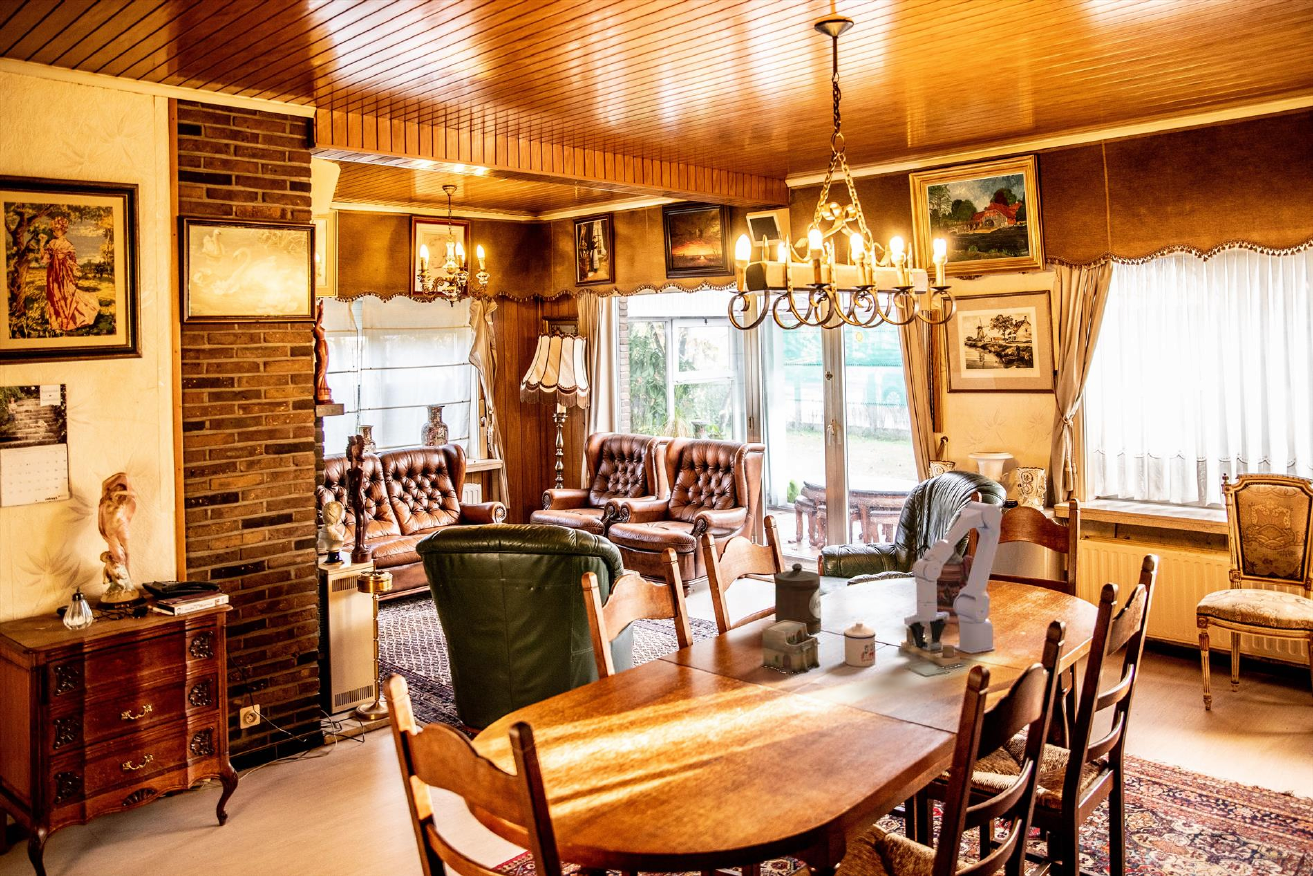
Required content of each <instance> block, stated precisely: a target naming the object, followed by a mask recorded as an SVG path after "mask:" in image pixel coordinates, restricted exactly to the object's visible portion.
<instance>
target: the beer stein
mask: <svg viewBox="0 0 1313 876" xmlns="http://www.w3.org/2000/svg"><path fill="white" fill-rule="evenodd" d="M953 548H954V553H953V554H952V555H951V557H950V558H949V559H948V560H947V561H946V563H945V564H944V565H943V568H942V569H941V575H940V577H939V578H938V579H937V612H948V613H949V620H946V619H944V620H943V621H945V622H946V624H959V618H958V614H956V613H955V611H954V608H953V604H954V601H955V599H956V598H957V596H958V595H959V591H960V590H961V589H962V588H964V587H965V586H966V585H967V583H968V579H969V575H970V569H971V566H970V562H971V561H973V559H974V556H971V555H969V554H966V555H964V556H963V557H961V556H960V555H959V554H958V552H957V548H956V545H955V546H954V547H953ZM972 598H974V599H976V598H975V597H972Z"/></svg>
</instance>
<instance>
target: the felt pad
mask: <svg viewBox="0 0 1313 876" xmlns="http://www.w3.org/2000/svg"><path fill="white" fill-rule="evenodd" d="M905 667H906V668H905ZM903 668H905V669H907V670H909V669H910V670H909V671H911V670H912V671H911V672H914V673H916V672H917V673H916V674H919V675H920V674H921V675H920V676H923V677H925V676H927V677H932V676H931V675H933V676H936V675H935V674H939V675H943V674H942V673H944V674H947V673H946V672H949V673H950V670H949V669H944V668H941V667H939V666H937V665H934V664H932V663H930V662H927V661H924V662H918V663H912V664H906V665H903Z"/></svg>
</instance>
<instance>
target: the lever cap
mask: <svg viewBox="0 0 1313 876" xmlns="http://www.w3.org/2000/svg"><path fill="white" fill-rule="evenodd" d="M942 644H943V643H942V641H941V640H940V641H938V640H935V639H933V638H932V637H929V636H927V635H925V634H923V648H920V649H922V650H925V651H927V652H930V651H936V650H942V646H943V645H942ZM913 646H915V647H916V643H915V639H914V637H913Z"/></svg>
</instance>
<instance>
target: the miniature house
mask: <svg viewBox="0 0 1313 876" xmlns="http://www.w3.org/2000/svg"><path fill="white" fill-rule="evenodd" d="M818 639H819V638H818V637H817V636H812V635H808V634H807V628H806V624H805V623H800V622H794V621H788V620H783V621H780V622H778V623H776V622H775V623H772V624H770V625H768V626H767V625H766V626H765V627H762V644H761V645H760V648H762V655H763V656H762V658H763V659H762V661H763V664H762V667H763V666H767V667H773V668H776V669H779V670H777V672H780V671H781V672H786V674H785V675H787V674H789V675H791V674H794V673H796V674H795V675H798V674H799V673H798V672H800V673H806V672H807V673H809V671H810V670H809V669H810V668H809V667H811V668H814V667H815V668H820V666H821V665H820V662H819V648H818V645H821V643H820V642H819V641H818ZM813 666H814V667H813ZM808 668H809V669H808ZM776 669H775V670H776ZM802 671H803V672H802ZM777 672H776V673H777ZM792 672H793V673H792ZM790 673H791V674H790ZM797 673H798V674H797Z"/></svg>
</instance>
